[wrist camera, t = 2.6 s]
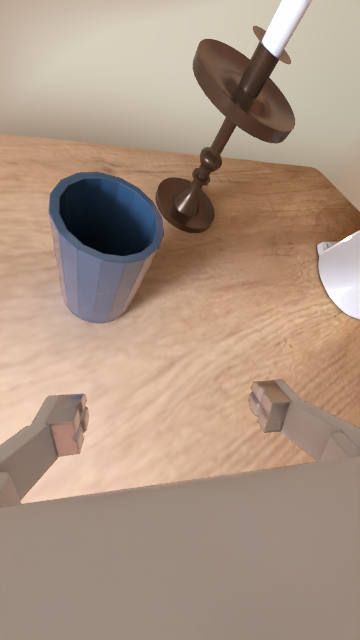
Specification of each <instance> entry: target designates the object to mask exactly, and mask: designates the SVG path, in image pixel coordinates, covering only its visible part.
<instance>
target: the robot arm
mask: <svg viewBox="0 0 360 640" xmlns="http://www.w3.org/2000/svg"><path fill="white" fill-rule="evenodd" d="M317 250H318V254H319V263H318V268H319V274H320V278H321V281H322V283H323V285H324V288H325V289H326V291H327V293H328V295H329V296H330V298H331V299H332V300H333V302H334V303H335V304H336V305H337V306H338V307H339V308H340V309H341V310H342V311H343V312H344V313H346V314H347V315H349V316H351V317H353V318H357V319H359V320H360V230H359V231H357V232H356V233H354V234H352V235H350V236H349V237H347V238H345V239H344V240H342V241H340V242H321V243H320V244H318V245H317ZM251 389H252V390H253V392H252V393H251V394H250V395H249V406H250V409H251V411H252V413H253V414H254V415H255V416H257V417H258V420H257V422H258V423H259V425H260V427H261V428H262V430H263V432H264V433H267V432H279V431H281V433H282V434H283V435H285V436H286V437H287V438H288V439H290V440H291V441H292V442H294V443H295V444H296V445H297V446H299V447H300V448H301V449H302V450H304V451H305V452H306V453H307V454H309V455H310V456H311V457H313V458H314V459H315V460H316V461H318V462H312V463H305V464H298V465H291V466H284V467H277V468H270V469H263V470H256V471H249V472H242V473H235V474H228V475H221V476H214V477H207V478H200V479H193V480H186V481H179V482H172V483H165V484H158V485H151V486H144V487H137V488H130V489H123V490H116V491H109V492H102V493H95V494H88V495H81V496H74V497H67V498H60V499H53V500H47V501H40V502H33V503H26V504H21V502H20V501H21V499H22V498H23V497H24V496H25V495H26V494H27V493H28V491H29V490H30V489H31V488H32V487H33V486H34V485H35V483H36V482H37V481H38V480H39V479H40V478H41V477H42V476H43V474H44V473H45V472H46V471H47V470H48V469H49V468H50V466H51V465H52V464H53V463H54V462H55V461H56V460H57V458H58V457H60V456H67V455H74V454H80V451H81V448H82V444H83V441H84V437H83V433H84V432H85V431H86V430H87V426H88V418H89V414H88V408H87V407H86V406H85V404H86V401H87V400H86V395H85V394H69V395H53V396H48V397H47V398H46V399H45V401H44V403H43V404H42V406H41V408H40V410H39V411H38V413H37V415H36V417H35V418H34V420H33V422H32V424H31V426H26V427H25V428H23V429H22V430H21V431H19V432H18V433H16V434H15V435H14V436H12V437H11V438H10V439H8V440H7V441H5V442H4V443H3V444H1V445H0V640H360V428H358V427H356V426H354V425H352V424H350V423H348V422H346V421H344V420H342V419H340V418H338V417H336V416H334V415H332V414H330V413H328V412H326V411H324V410H322V409H320V408H318V407H316V406H314V405H312V404H311V403H309V402H307V401H302V400H301V399H300V398H299V397H298V396H297V395H296V393H295V392H294V391H293V390H292V389H291V388H290V387H289V386H288V385H287V384H286V383H285V382H284V381H283V380H281V379H277V380H268V381H255V382H253V383H252V386H251Z"/></svg>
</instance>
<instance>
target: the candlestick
mask: <svg viewBox="0 0 360 640" xmlns="http://www.w3.org/2000/svg"><path fill="white" fill-rule="evenodd" d="M311 1H312V0H282V1H281V3H280V5H279V7H278V9H277V11H276V13H275V15H274V17H273V19H272V21H271V23H270V25H269V27H268V29H267V31H265V30H263V29H262V28H260V27H258V26H254V27H253V31H254V33H255V35H256V36H257V38H258V39H259V40H260V42H259V44H258V46H257V48H256V50H255V52H254V54H253V56H252V58H251V60H250V59H248V58H247V57H246V56H244V55H243V54H242V53H240V52H239V51H237V50H235V49H234V48H232V47H230V46H229V45H227V44H225V43H222V42H220V41H217V40H213V39H204V40H202V41H201V42H200V43H199V46H198V48H197V51H196V54H195V57H194V60H193V71H194V75H195V77H196V79H197V81H198V84H199V85H200V87H201V88H202V90H203V91H204V93H205V94H206V96H207V97H208V98H209V99H210V100H211V102H212V103H213V104H214V105H215V106H216V107H217V109H219V111H220V112H221V113H222V114H223V115H225V116H226V118H225V120H224V122H223V124H222V126H221V128H220V130H219V132H218V134H217V136H216V138H215V140H214V142H213V144H212V146H211V147H205V148H204V149H202V151H201V154H200V163H201V165H200V167H199V168H196V169H194V171H193V173H192V175H193V178H194V180H193V182H192V183H191V182H189V181H187V180H185V179H181V178H167V179H165V180H163V181H162V182H161V183H160V185H159V187H158V190H157V192H156V203H157V206H158V209H159V210H160V212H161V214H162V215H163V216H164V217H165V219H166V220H168V221H169V222H170V223H171V224H172V225H174V226H175V227H177V228H179V229H181V230H183V231H186V232H190V233H199V232H203V231H205V230H206V229H207V228H208V227H209V226H210V225H211V223H212V221H213V220H214V208H213V205H212V203H211V201H210V199H209V198H208V196H207V195H206V194H205V193H204V192H203V191H202V190H201V188H202V186H203V185H204V186H205V185H208V184H209V182H210V177H209V175H210V173H211V172H214V171H216V170H217V169H218V168H220V166H221V165H222V158H221V156H220V154H221V152H222V150H223V149H224V146H225V145H226V143H227V142H228V140H229V138H230V136H231V134H232V133H233V131H234V129H235V127H236V126H238V127H239V128H241V129H242V130H243V131H245V132H247V133H248V134H250V135H252V136H253V137H256V138H258V139H260V140H262V141H266V142H269V143H280V142H282V141H283V140H284V139H285V138H286V137H287V136H288V135H289V133H290V132H291V131H292V129H293V128H294V126H295V117H294V114H293V111H292V109H291V107H290V105H289V103H288V101H287V100H286V98H285V96H284V95H283V94H282V92H281V91H280V90H279V89H278V87H277V86H276V85H275V83H274V82H273V81H272V80H271V79H270V78H269V76H270V74H271V73H272V71H273V69H274V68H275V66H276V64H277V63H278V61H279V60H281V61H282V62H284V63H286V64H291V60H290V57H289V56H288V54H287V52H286V51H285V50H284V48H285V46H286V45H287V43H288V41H289V39H290V38H291V36H292V34H293V32H294V31H295V29H296V27H297V25H298V24H299V22H300V20H301V18H302V17H303V15H304V13H305V12H306V10H307V8H308V6H309V5H310V3H311Z"/></svg>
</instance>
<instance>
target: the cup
mask: <svg viewBox="0 0 360 640" xmlns="http://www.w3.org/2000/svg"><path fill="white" fill-rule="evenodd" d="M49 217H50V223H51V229H52V235H53V242H54V248H55V254H56V260H57V267H58V273H59V279H60V285H61V291H62V295H63V299H64V302H65V304H66V306H67V307H68V309H69V310H70V311H71V312H72V313H73V314H74V315H76V316H77V317H79V318H80V319H82V320H85V321H88V322H92V323H106V322H110V321H113V320H115V319H117V318H119V317H120V316H121V315H123V314H124V312H125V311H126V310H127V308H128V307H129V305H130V303H131V301H132V299H133V297H134V295H135V293H136V292H137V290H138V288H139V286H140V284H141V282H142V280H143V278H144V276H145V274H146V272H147V270H148V268H149V266H150V264H151V262H152V260H153V258H154V256H155V254H156V252H157V250H158V249H159V246H160V243H161V241H162V238H163V235H164V230H163V222H162V217H161V215H160V213H159V212H158V210H157V208H156V206H155V204H154V203H153V201H152V200H151V199H150V198H149V197H148V196H146V195H145V194H144V193H143V192H142V191H141V190H140V189H139V188H138V187H136V186H134V185H132V184H131V183H129V182H127V181H125V180H123V179H122V178H119V177H115V176H112V175H108V174H104V173H101V172H100V173H99V172H80V173H76V174H74V175H71V176H69V177H66V178H64V179H62V180H60V182H59V183H58V184H57V185H56V187H55V188H54V189H53V191H52V192H51V193H50V200H49Z"/></svg>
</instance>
